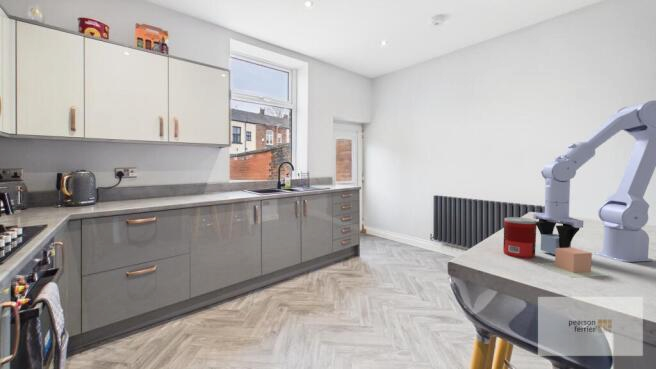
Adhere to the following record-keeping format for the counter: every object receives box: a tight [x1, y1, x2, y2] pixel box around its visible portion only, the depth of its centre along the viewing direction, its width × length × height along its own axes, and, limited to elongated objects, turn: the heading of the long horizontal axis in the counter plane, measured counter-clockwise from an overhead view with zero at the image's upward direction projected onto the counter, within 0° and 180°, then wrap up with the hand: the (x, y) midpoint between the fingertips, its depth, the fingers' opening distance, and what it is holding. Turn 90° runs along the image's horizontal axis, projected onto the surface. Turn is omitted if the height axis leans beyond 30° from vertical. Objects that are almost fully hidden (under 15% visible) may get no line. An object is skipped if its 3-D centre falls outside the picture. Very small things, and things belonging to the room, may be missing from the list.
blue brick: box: [540, 233, 572, 255], centre depth 87 cm, size 5×5×5 cm
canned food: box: [502, 216, 537, 259], centre depth 86 cm, size 8×8×11 cm
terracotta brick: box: [554, 246, 593, 273], centre depth 74 cm, size 5×5×5 cm
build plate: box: [536, 262, 612, 278], centre depth 74 cm, size 11×10×1 cm
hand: (555, 246), depth 87 cm, fingers closed on blue brick, 5 cm apart
